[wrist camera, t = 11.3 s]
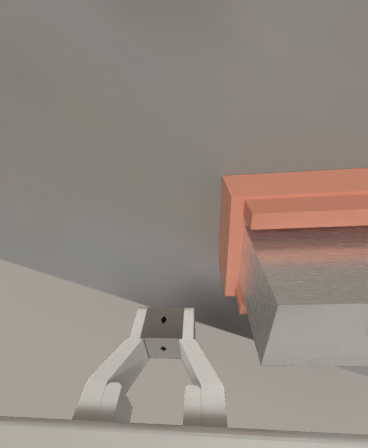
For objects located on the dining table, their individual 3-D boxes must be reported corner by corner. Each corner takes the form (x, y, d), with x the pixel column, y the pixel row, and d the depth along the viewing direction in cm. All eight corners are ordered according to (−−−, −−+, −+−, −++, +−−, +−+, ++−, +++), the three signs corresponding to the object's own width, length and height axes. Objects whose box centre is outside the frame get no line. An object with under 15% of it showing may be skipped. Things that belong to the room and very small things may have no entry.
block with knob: (238, 278, 16) (263, 374, 10) (244, 224, 13) (282, 314, 8) (344, 276, 15) (431, 375, 10) (373, 219, 13) (513, 311, 7)
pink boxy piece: (219, 263, 20) (232, 340, 14) (222, 175, 15) (245, 230, 9) (387, 258, 19) (487, 338, 13) (445, 163, 14) (650, 215, 8)
